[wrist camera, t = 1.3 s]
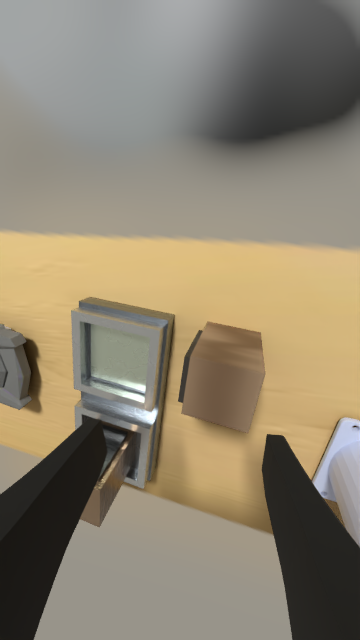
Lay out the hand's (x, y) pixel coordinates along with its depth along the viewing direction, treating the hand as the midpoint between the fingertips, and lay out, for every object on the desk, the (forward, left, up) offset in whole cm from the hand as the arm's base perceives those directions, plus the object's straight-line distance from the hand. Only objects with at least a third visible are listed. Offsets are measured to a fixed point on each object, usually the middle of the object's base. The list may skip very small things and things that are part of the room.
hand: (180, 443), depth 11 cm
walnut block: (-1, 0, -10) cm, 10 cm away
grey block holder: (+7, +6, -10) cm, 14 cm away
